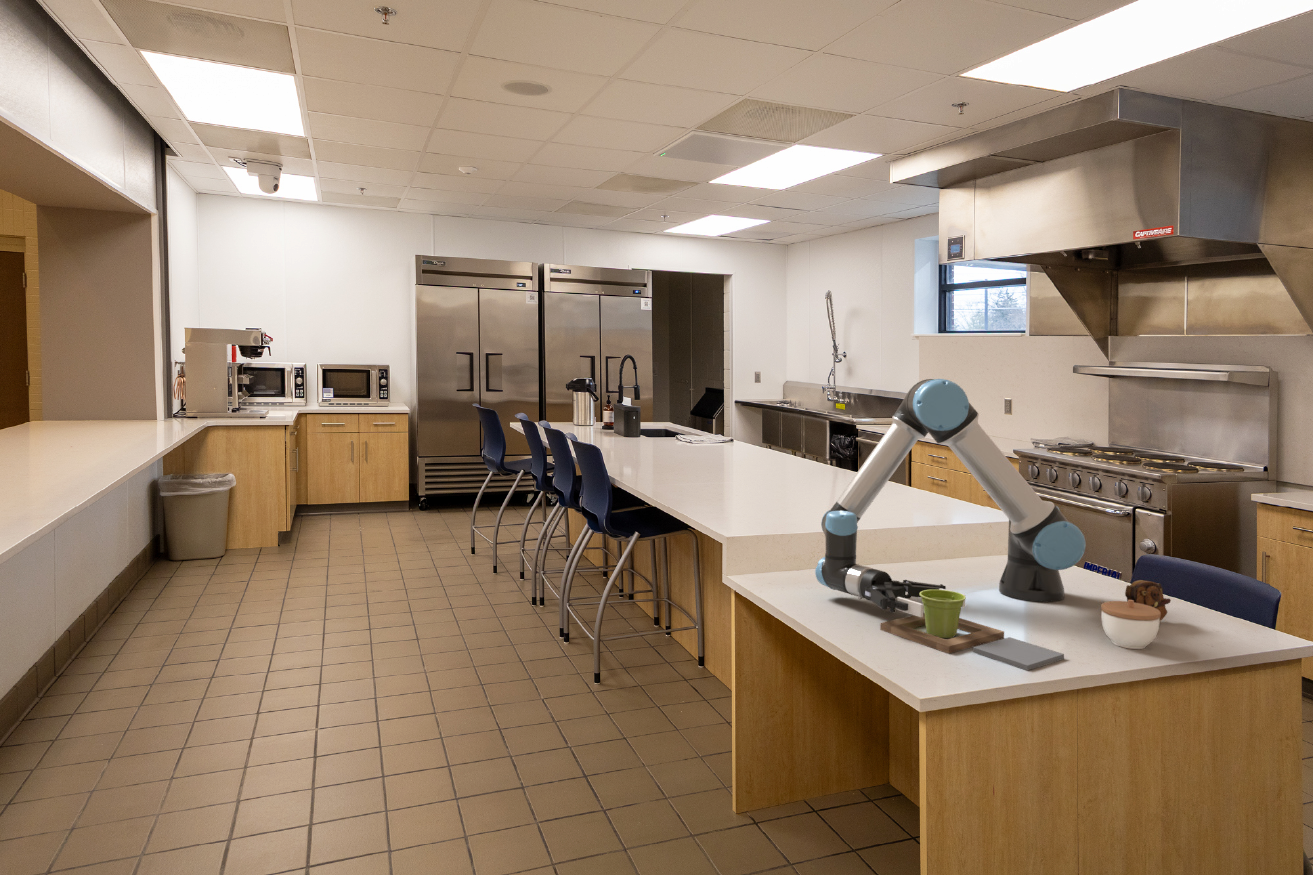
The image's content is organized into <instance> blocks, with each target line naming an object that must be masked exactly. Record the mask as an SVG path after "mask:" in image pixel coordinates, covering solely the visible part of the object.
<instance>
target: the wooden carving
mask: <svg viewBox="0 0 1313 875" xmlns="http://www.w3.org/2000/svg"><path fill="white" fill-rule="evenodd" d="M1124 596H1125V598H1126V602H1128V600H1134V603H1140V604H1144V605H1148V606H1151V607H1154V608H1156V609H1158V610H1159V611H1160V612H1161V616H1160V622H1161V621H1162V620H1163V619H1164V618H1165V617H1166V616H1167V614H1168V610H1167V608H1166V605H1169V604H1170V603H1171V599H1170V598H1166V597H1164V589H1163V586H1162V584H1161V583H1157V582H1154V581H1149V580H1142V579H1139V580H1135V581H1133V582H1132V583H1131V584H1130V585H1126V588H1125V590H1124Z"/></svg>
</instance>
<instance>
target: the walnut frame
mask: <svg viewBox="0 0 1313 875" xmlns="http://www.w3.org/2000/svg"><path fill="white" fill-rule="evenodd" d="M879 626H880V627H879V629H880V631H883V632H885V633H886V632H887V633H889V634H892V635H894V636H896V637H901V638H903V639H904V640H905V639H906V640H909V641H912V642H915V643H917V644H920V645H923V646H925V647H929V648H932V649H934V650H937V651H940V652H943V653H946V654H948V655H949V654H952V653H956V652H959V651H963V650H967V649H970V648H973V647H976V646H980V645H983V644H987V643H991V642H994V641H998V640H1001V639H1005V631H1004V630H1000V629H997V628H994V627H991V626H987V625H984V624H981V623H979V622H978V623H977V622H975V621H971V620H967V619H965V618H961V617H959V622H958V628H957V630H961V631H963V632H966V633H967V634H963V635H962V634H961V635H959V636H956V637H955V636H954V637H952V638H940V637H938V636H936V635H931V634H928V633H927V632H924V631H922V630H919V629H916V628H917V627H918V628H919V627H923V626H926V622H925V613H924V612H923V617H918V616H915V615H909V616H906V617H901V618H896V619H892V620H887V621H884V622H880V624H879Z"/></svg>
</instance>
